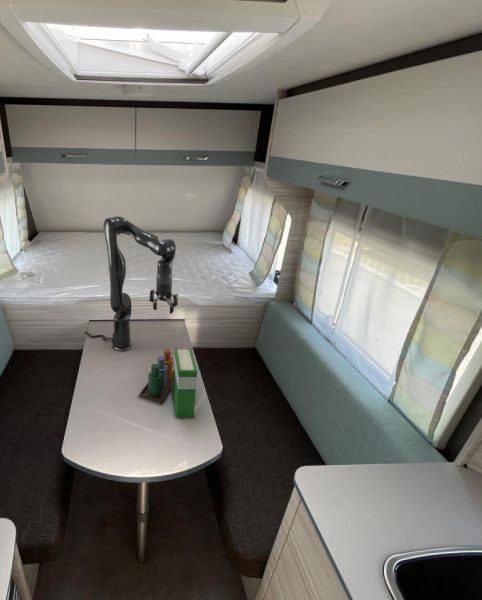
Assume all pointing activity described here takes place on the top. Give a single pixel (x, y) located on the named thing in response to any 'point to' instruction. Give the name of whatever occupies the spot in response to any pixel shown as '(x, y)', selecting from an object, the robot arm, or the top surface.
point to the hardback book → (184, 382)
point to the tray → (163, 392)
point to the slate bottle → (162, 371)
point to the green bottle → (154, 381)
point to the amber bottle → (168, 363)
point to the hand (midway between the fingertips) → (163, 311)
